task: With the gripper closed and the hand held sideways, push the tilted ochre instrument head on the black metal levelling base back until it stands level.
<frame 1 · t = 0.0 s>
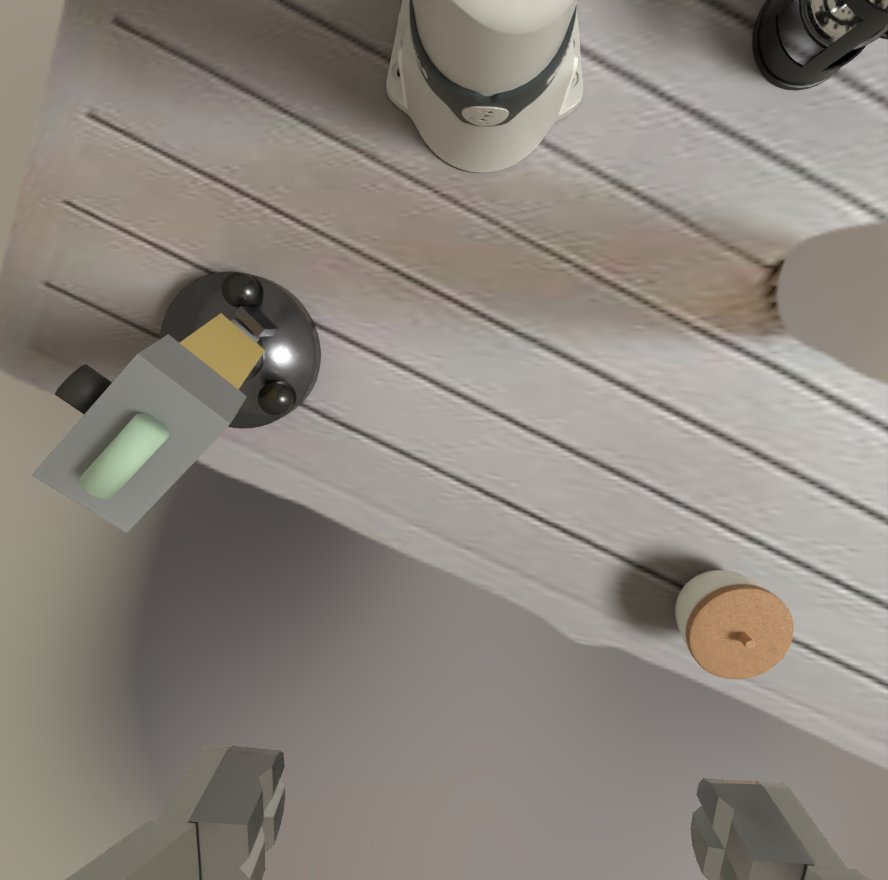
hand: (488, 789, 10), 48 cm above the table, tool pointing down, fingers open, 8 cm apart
lidded jar: (706, 595, 61), on the table
levelling base: (247, 351, 56), on the table
french press: (807, 36, 48), on the table
instrument head: (176, 382, 40), point 17 cm above the table, hinge at 15.0°
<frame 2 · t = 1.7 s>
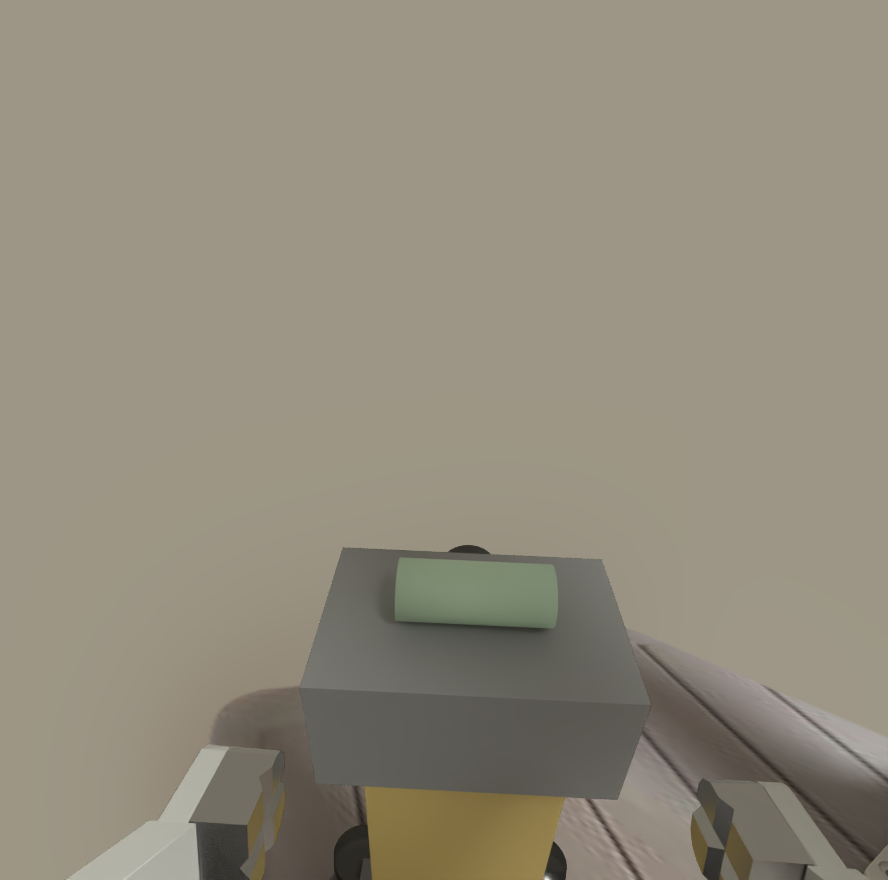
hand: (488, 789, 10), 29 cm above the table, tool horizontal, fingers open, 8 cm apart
instrument head: (458, 768, 23), point 17 cm above the table, hinge at 15.0°
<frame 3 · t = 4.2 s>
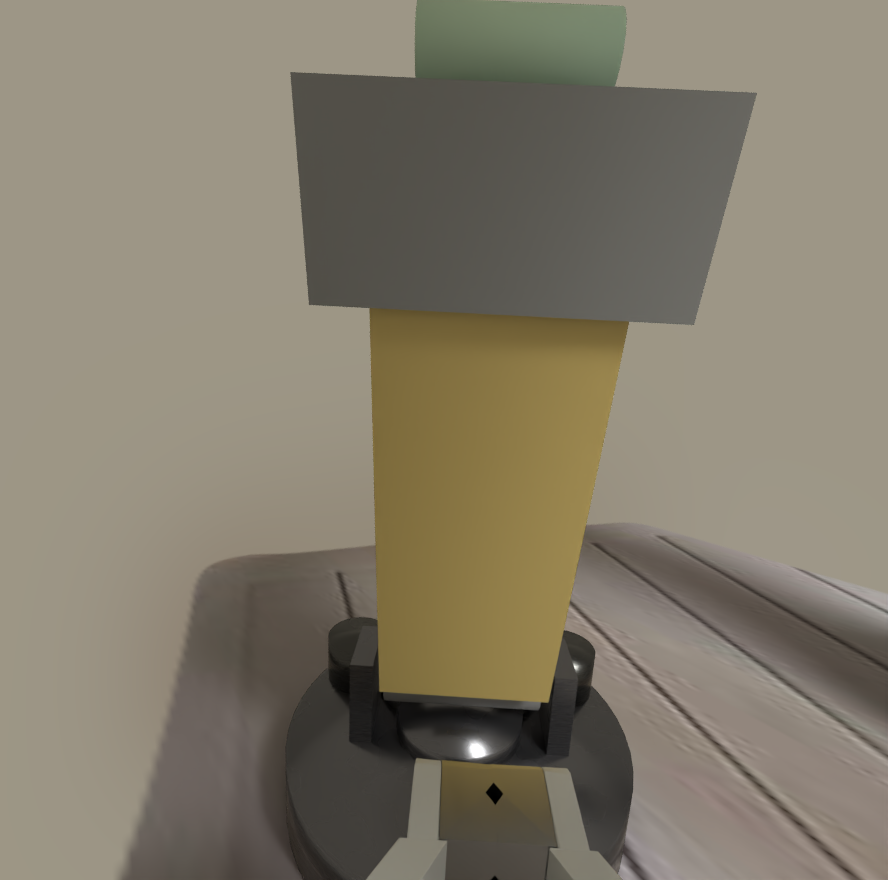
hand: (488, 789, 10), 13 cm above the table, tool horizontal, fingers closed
levelling base: (455, 775, 26), on the table
instrument head: (479, 444, 20), point 17 cm above the table, hinge at 15.0°
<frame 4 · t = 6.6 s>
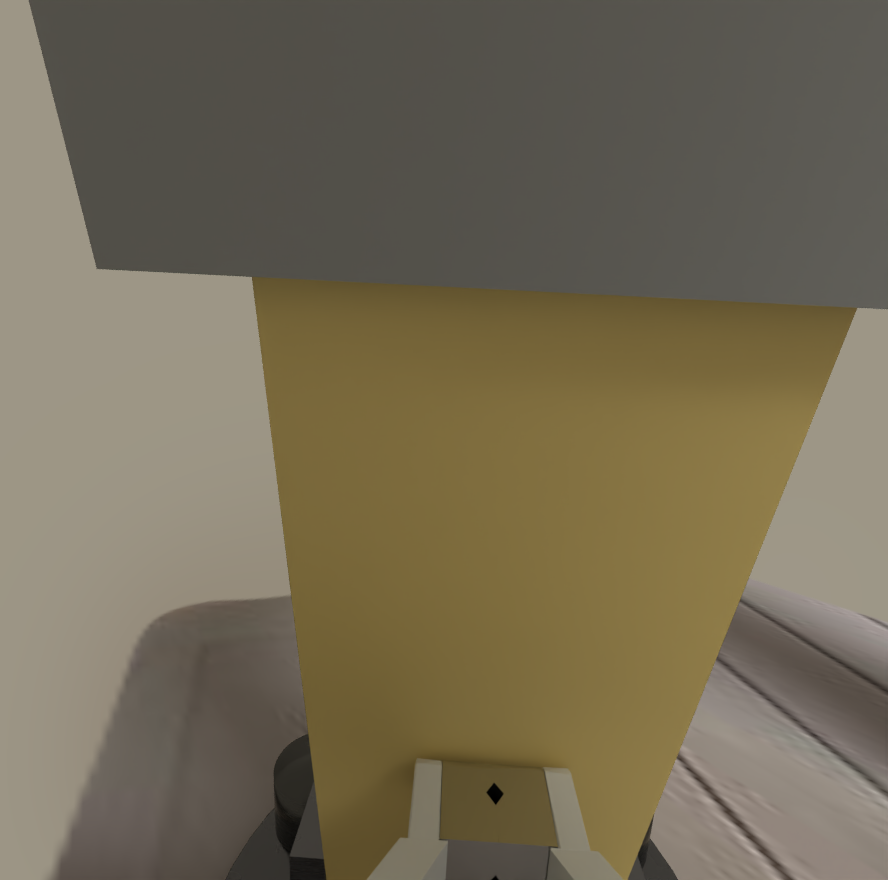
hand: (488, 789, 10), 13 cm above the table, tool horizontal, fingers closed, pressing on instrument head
instrument head: (494, 526, 12), point 17 cm above the table, hinge at 13.9°, touching gripper
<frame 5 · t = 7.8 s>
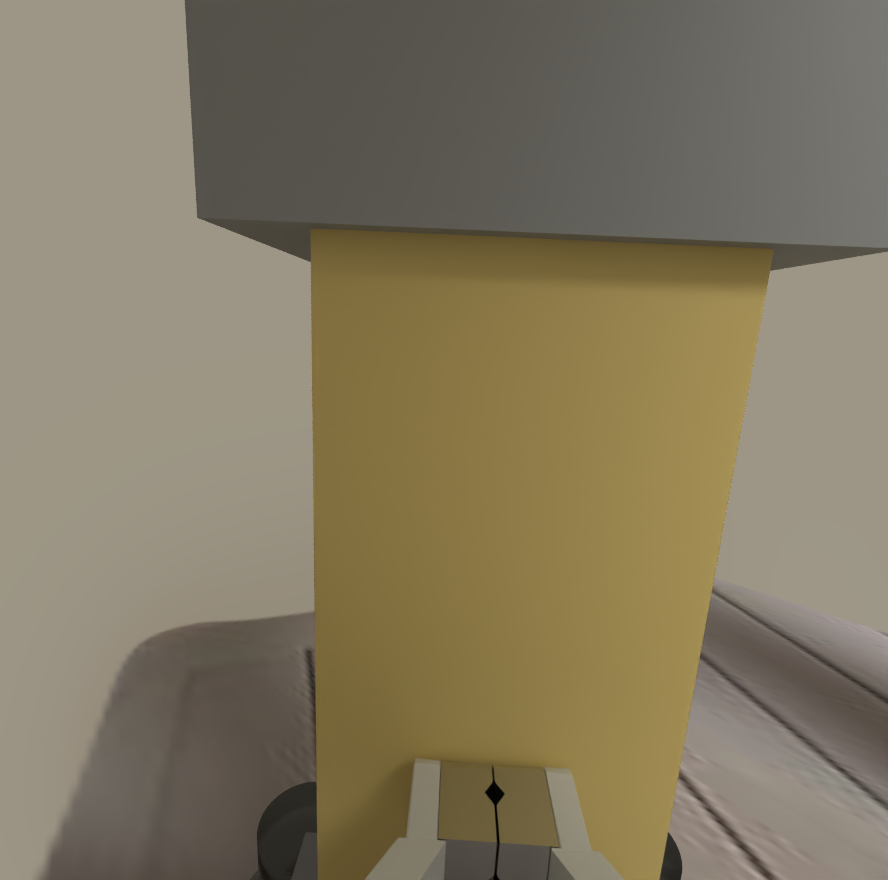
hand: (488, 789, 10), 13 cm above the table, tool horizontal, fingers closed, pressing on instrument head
instrument head: (496, 521, 13), point 18 cm above the table, hinge at 0.4°, touching gripper
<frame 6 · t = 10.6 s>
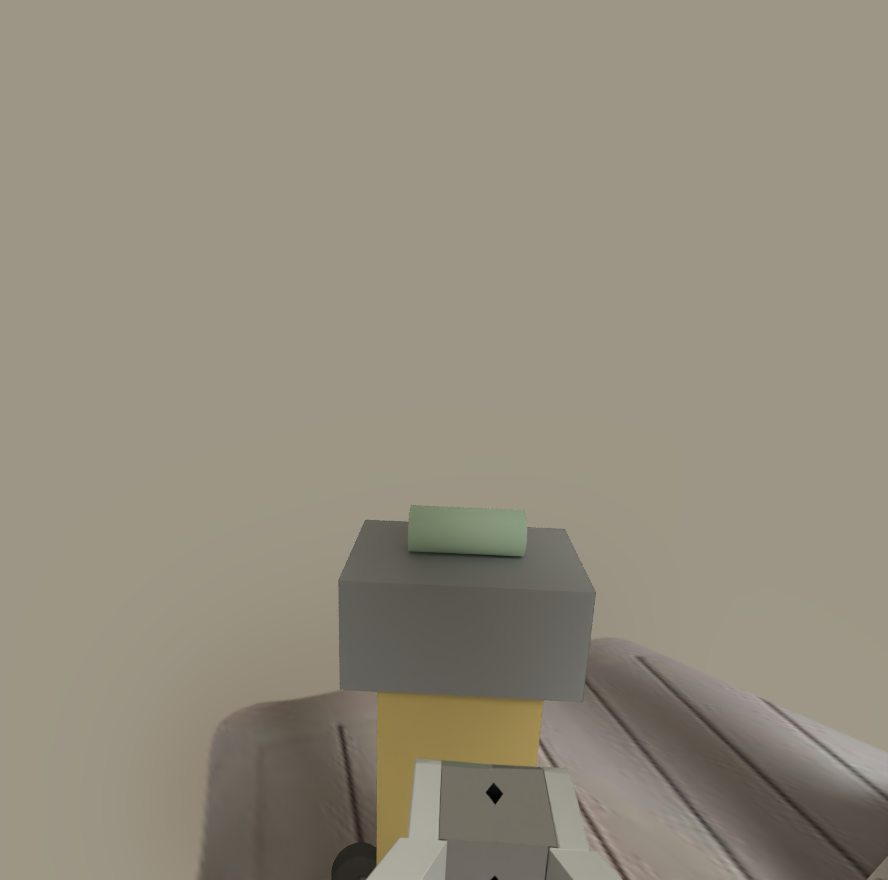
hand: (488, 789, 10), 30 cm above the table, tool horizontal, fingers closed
instrument head: (455, 738, 27), point 18 cm above the table, hinge at 0.4°
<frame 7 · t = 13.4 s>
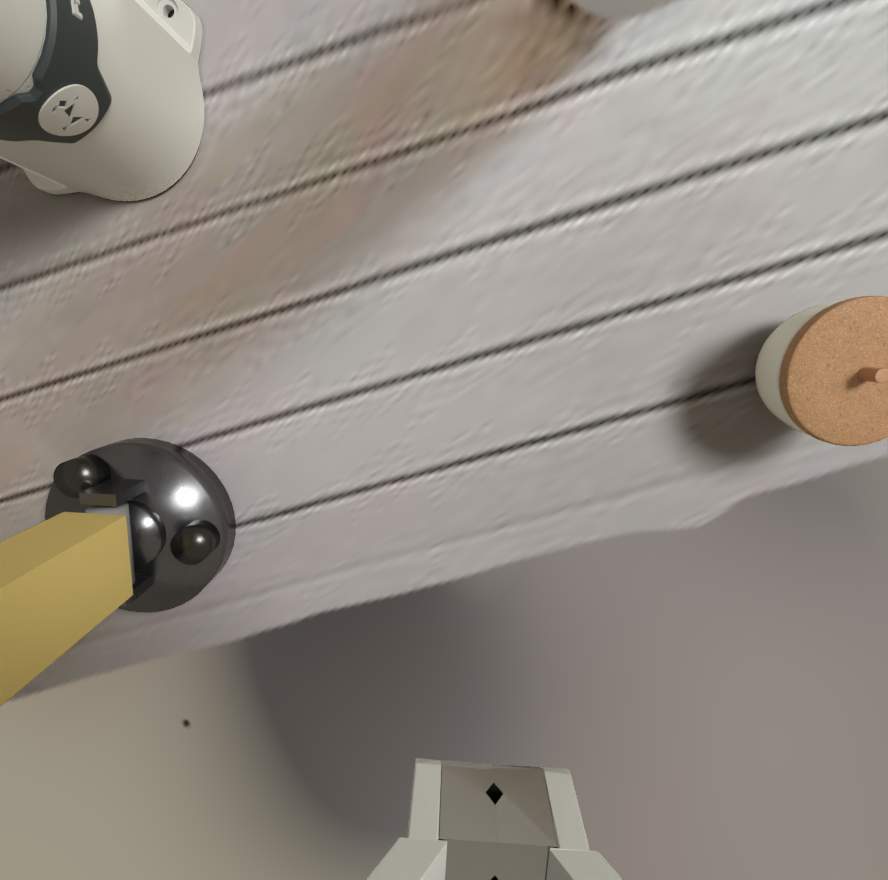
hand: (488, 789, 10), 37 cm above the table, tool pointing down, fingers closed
lidded jar: (793, 364, 44), on the table
levelling base: (152, 519, 49), on the table
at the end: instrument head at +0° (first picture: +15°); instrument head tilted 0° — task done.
